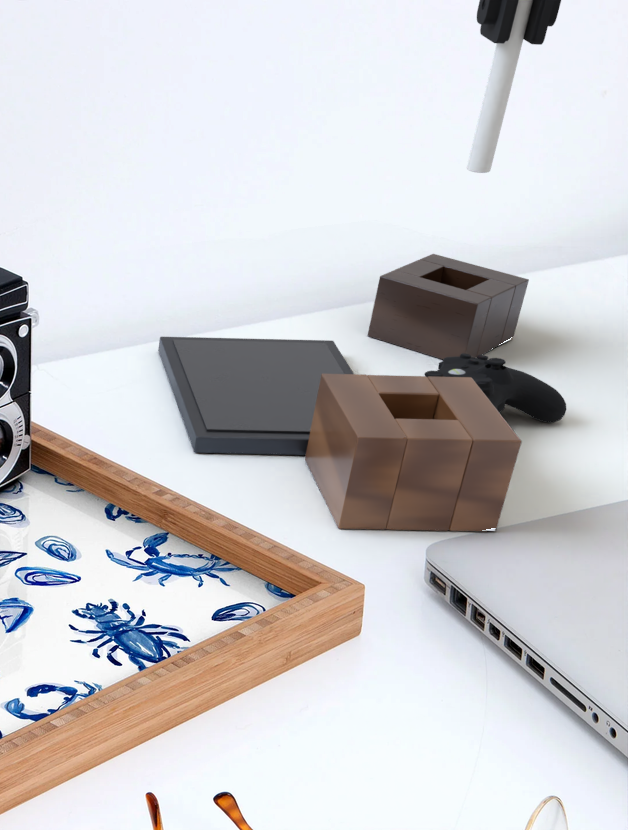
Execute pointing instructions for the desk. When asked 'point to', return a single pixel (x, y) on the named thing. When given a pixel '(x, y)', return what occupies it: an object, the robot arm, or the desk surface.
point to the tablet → (248, 390)
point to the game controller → (506, 386)
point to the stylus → (498, 93)
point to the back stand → (446, 307)
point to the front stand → (410, 453)
